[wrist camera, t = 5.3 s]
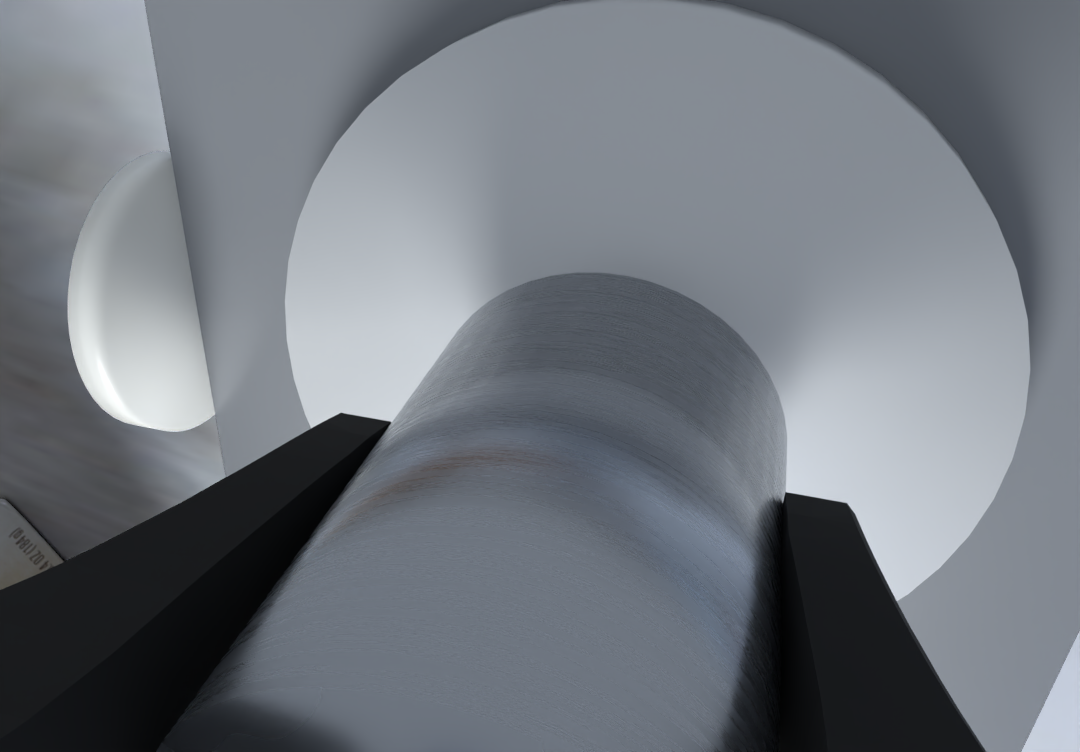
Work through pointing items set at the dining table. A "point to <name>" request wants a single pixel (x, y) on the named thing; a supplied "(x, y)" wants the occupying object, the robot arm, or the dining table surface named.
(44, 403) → the dining table surface
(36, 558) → the coffee box
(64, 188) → the dining table surface
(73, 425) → the dining table surface
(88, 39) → the dining table surface
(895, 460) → the kitchen scale
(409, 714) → the cylinder
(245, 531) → the robot arm
